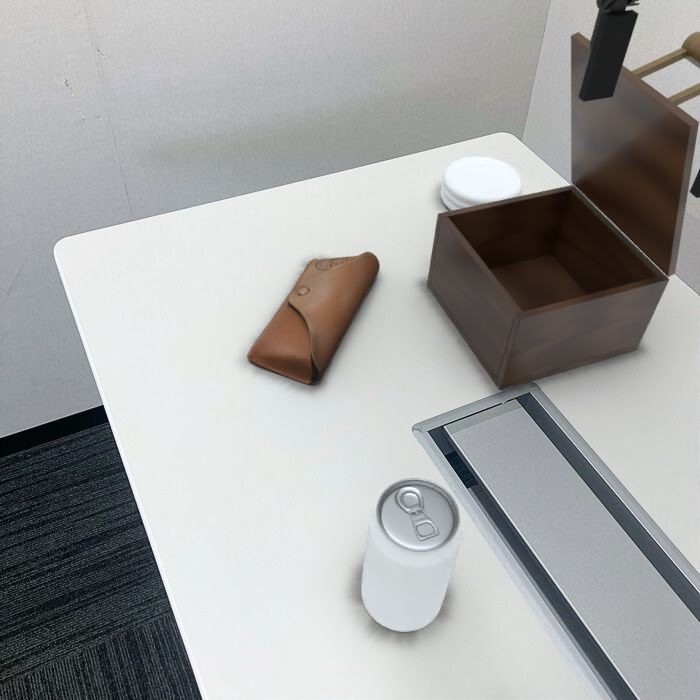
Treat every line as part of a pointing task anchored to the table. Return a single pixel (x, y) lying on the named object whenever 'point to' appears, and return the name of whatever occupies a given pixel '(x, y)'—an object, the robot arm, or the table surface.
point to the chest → (541, 284)
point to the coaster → (478, 182)
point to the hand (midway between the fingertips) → (647, 141)
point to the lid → (636, 152)
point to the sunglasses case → (315, 317)
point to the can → (410, 554)
